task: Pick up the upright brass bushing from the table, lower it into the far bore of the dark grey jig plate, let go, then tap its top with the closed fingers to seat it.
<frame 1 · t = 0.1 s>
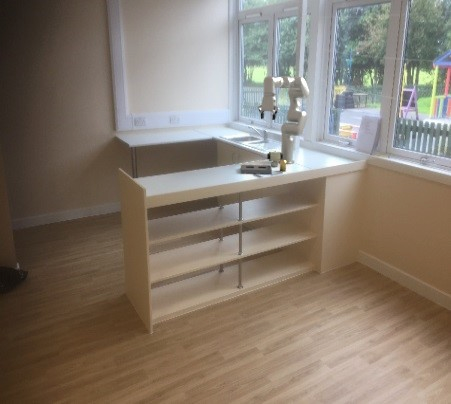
hand: (267, 119, 306), 37 cm above the countertop, tool pointing down, fingers open, 9 cm apart
pneumatic valve: (274, 166, 328), on the countertop
bushing: (282, 171, 313), on the countertop
jig: (255, 171, 311), on the countertop
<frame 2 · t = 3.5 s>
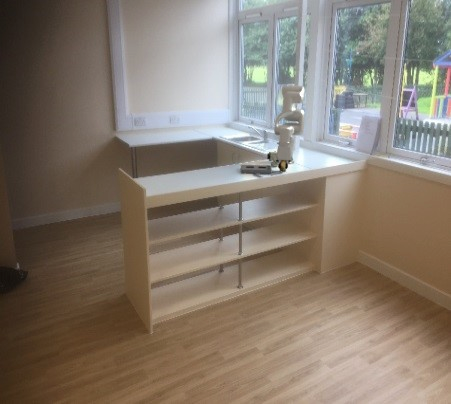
hand: (282, 168, 313), 2 cm above the countertop, tool pointing down, fingers closed on bushing, 4 cm apart
bushing: (282, 170, 313), on the countertop, touching gripper
everything else where it was.
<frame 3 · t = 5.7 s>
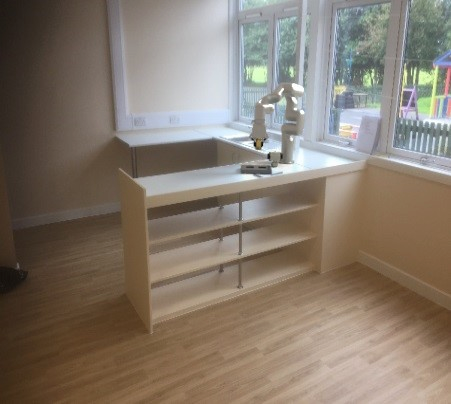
hand: (258, 147, 306), 18 cm above the countertop, tool pointing down, fingers closed on bushing, 4 cm apart
bushing: (258, 149, 306), point 16 cm above the countertop, touching gripper
everything else where it was.
when the fingers open (4 cm above the countertop, at t = 8.2 s): bushing drops 2 cm, resting in jig.
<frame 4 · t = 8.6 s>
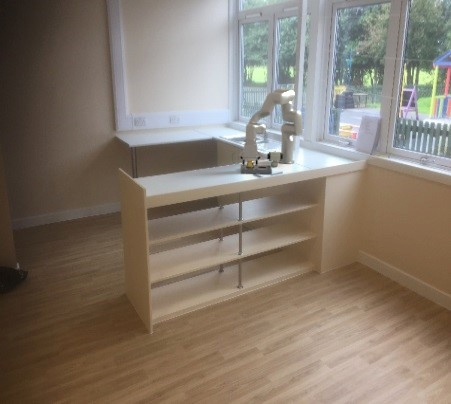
hand: (249, 165, 310), 4 cm above the countertop, tool pointing down, fingers open, 8 cm apart
bushing: (249, 171, 311), resting in jig
everything else where it was.
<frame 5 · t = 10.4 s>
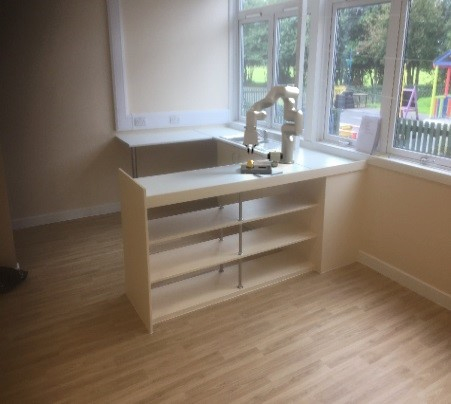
hand: (250, 153, 307), 13 cm above the countertop, tool pointing down, fingers closed
nothing on the countertop moved.
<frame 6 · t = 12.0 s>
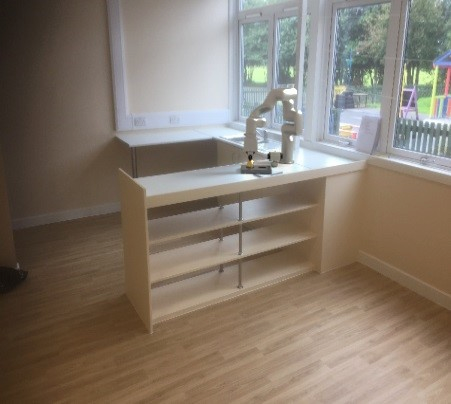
hand: (250, 160, 309), 8 cm above the countertop, tool pointing down, fingers closed
bushing: (249, 171, 311), resting in jig, touching gripper
everything else where it was.
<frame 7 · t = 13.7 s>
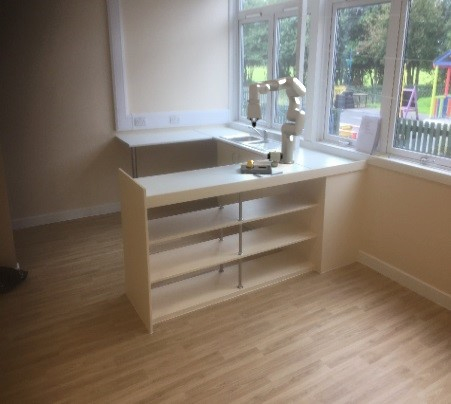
hand: (254, 127, 309), 31 cm above the countertop, tool pointing down, fingers closed
bushing: (249, 171, 311), resting in jig
everything else where it was.
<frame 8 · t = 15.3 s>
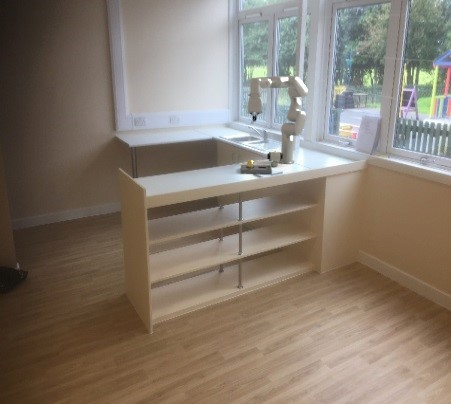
hand: (254, 121, 310), 35 cm above the countertop, tool pointing down, fingers closed
nothing on the countertop moved.
at the end: bushing 0.1 cm from the target spot on the jig, point 0.0 cm above the jig's base; bushing tilted 0°; the gripper is holding nothing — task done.
